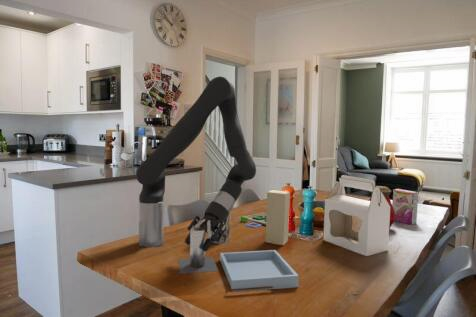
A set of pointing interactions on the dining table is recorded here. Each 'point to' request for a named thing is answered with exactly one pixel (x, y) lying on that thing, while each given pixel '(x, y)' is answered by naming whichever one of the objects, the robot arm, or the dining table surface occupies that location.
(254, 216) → the shape sorter
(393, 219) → the bottle
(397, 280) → the dining table surface
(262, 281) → the tray
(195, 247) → the bushing
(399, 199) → the candy bar box
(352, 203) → the gable box
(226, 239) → the coffee box
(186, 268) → the mat
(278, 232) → the beige rectangular block
